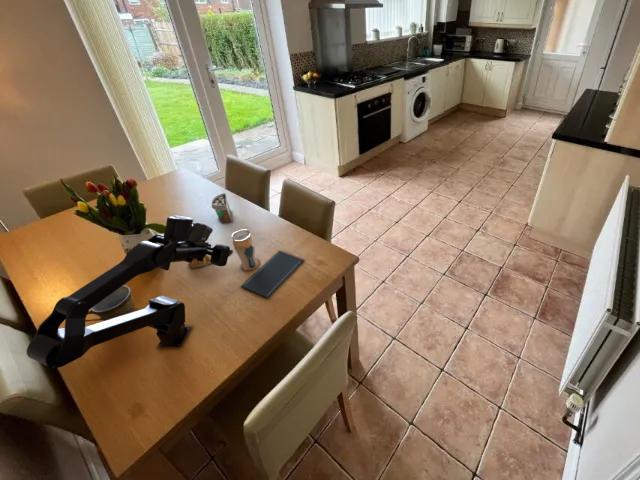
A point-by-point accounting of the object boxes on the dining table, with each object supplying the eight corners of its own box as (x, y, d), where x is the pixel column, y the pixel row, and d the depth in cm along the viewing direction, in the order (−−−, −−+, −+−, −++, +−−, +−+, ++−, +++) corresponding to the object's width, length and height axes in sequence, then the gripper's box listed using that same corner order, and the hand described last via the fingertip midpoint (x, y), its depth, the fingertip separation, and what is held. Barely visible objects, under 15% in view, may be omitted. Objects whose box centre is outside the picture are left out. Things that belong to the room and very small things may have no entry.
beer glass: (236, 267, 120) (226, 237, 112) (250, 256, 125) (242, 226, 117) (249, 274, 117) (240, 243, 110) (263, 262, 123) (255, 232, 115)
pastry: (191, 272, 118) (187, 265, 116) (187, 262, 122) (184, 255, 120) (217, 261, 123) (215, 254, 121) (213, 252, 127) (210, 245, 125)
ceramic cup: (137, 300, 107) (124, 280, 102) (147, 316, 102) (134, 296, 96) (89, 326, 99) (72, 306, 93) (98, 346, 93) (81, 325, 88)
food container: (216, 212, 150) (210, 195, 145) (230, 209, 152) (225, 192, 147) (216, 227, 141) (210, 209, 136) (231, 224, 143) (225, 206, 138)
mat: (267, 298, 108) (267, 297, 108) (241, 286, 112) (241, 285, 112) (303, 260, 124) (303, 259, 123) (279, 251, 128) (279, 250, 128)
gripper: (214, 231, 91) (249, 231, 106) (165, 218, 96) (205, 220, 111) (205, 269, 90) (241, 264, 105) (155, 254, 95) (197, 251, 110)
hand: (221, 248), depth 108 cm, fingers open, 9 cm apart
